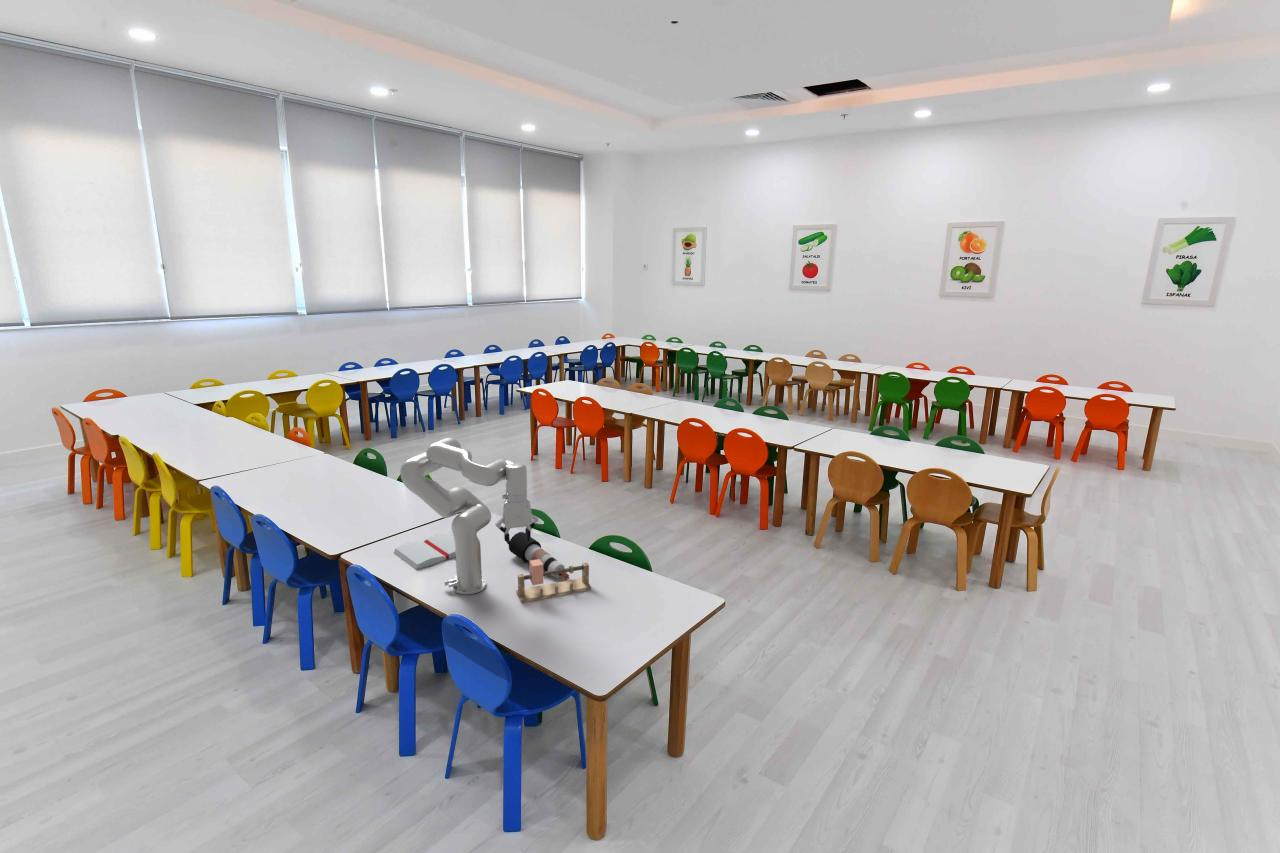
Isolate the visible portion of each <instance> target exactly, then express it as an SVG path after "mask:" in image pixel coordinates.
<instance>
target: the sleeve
mask: <svg viewBox="0 0 1280 853" xmlns="http://www.w3.org/2000/svg"><path fill="white" fill-rule="evenodd" d="M528 564H529V575H531V574H532V579H529V581H530V582H531V585H532V586H539V585H544V577H543V572H544V570H543V564H542V562H541V560H540V559H537V560H531V561H529V563H528Z"/></svg>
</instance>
